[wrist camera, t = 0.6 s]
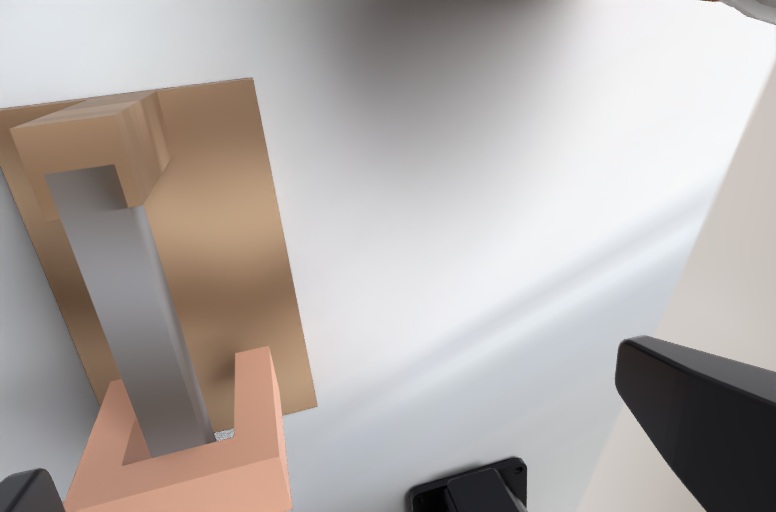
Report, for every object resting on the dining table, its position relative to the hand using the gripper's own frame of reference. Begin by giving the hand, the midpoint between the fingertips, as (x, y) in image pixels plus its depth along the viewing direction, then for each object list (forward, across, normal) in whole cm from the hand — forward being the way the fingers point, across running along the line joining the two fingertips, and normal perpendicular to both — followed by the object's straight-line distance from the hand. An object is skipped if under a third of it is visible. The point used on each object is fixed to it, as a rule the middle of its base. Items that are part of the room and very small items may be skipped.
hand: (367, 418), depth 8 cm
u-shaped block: (+10, +4, +6) cm, 13 cm away
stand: (+13, +5, +2) cm, 14 cm away
